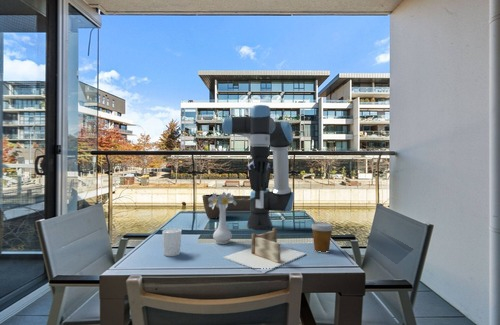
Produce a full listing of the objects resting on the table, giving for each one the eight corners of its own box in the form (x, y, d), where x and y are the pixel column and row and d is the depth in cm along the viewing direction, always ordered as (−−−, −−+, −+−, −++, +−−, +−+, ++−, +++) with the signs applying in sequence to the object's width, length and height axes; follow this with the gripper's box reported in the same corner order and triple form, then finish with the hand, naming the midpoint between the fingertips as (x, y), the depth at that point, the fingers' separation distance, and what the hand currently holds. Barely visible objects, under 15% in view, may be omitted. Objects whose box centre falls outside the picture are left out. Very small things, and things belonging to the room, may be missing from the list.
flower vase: (220, 236, 146) (220, 189, 146) (243, 243, 133) (243, 192, 133) (199, 240, 137) (199, 191, 137) (221, 249, 124) (222, 194, 124)
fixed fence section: (274, 245, 129) (274, 227, 129) (277, 246, 127) (277, 228, 127) (250, 253, 117) (250, 233, 117) (253, 254, 116) (254, 234, 116)
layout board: (266, 244, 133) (266, 242, 133) (306, 254, 118) (306, 253, 118) (223, 258, 112) (223, 256, 112) (264, 273, 97) (264, 271, 97)
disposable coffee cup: (333, 248, 126) (333, 223, 126) (332, 255, 117) (332, 227, 117) (312, 246, 130) (312, 221, 130) (309, 252, 121) (310, 225, 121)
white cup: (164, 250, 121) (164, 228, 121) (182, 250, 122) (182, 228, 122) (160, 257, 113) (160, 233, 113) (179, 256, 114) (179, 232, 114)
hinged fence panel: (254, 254, 115) (255, 237, 115) (257, 253, 116) (257, 236, 116) (277, 262, 106) (277, 244, 106) (280, 261, 107) (280, 243, 107)
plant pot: (199, 219, 189) (199, 196, 189) (206, 215, 203) (206, 194, 203) (219, 220, 186) (220, 197, 186) (225, 216, 201) (225, 194, 201)
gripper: (256, 145, 97) (255, 211, 97) (278, 146, 107) (277, 207, 107) (241, 145, 102) (240, 208, 102) (263, 147, 112) (263, 204, 112)
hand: (259, 207), depth 104 cm, fingers closed
